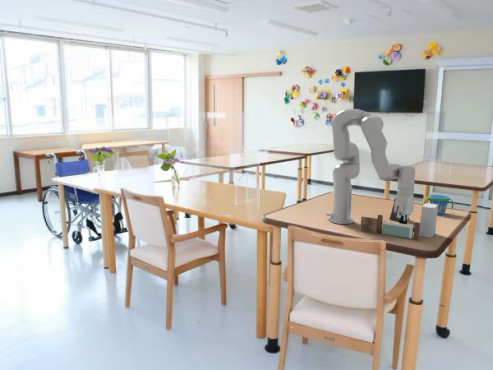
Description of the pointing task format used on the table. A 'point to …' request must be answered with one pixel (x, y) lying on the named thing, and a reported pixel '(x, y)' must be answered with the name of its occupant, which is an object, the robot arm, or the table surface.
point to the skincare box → (428, 220)
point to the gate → (397, 229)
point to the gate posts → (376, 226)
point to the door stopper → (393, 216)
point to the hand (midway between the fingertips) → (402, 227)
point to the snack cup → (439, 202)
